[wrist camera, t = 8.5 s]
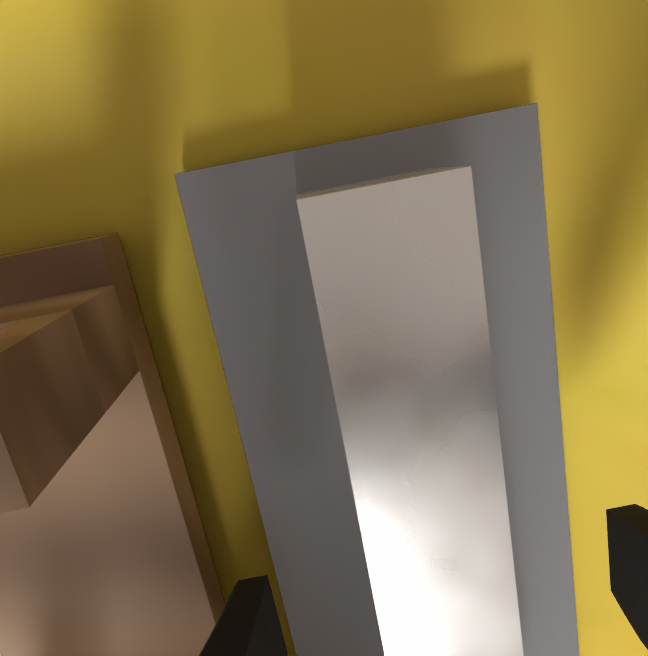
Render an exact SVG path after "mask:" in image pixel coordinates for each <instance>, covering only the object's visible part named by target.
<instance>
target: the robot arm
mask: <svg viewBox="0 0 648 656" xmlns="http://www.w3.org/2000/svg"><path fill="white" fill-rule="evenodd" d="M606 514H607V531H608V549H609V566H610V584H611V591H612V593H613V595H614V597H615V598H616V600H617V602H618V604H619V605H620V607H621V609H622V610H623V612H624V614H625V616H626V617H627V619H628V621H629V622H630V624H631V626H632V627H633V629H634V630H635V632H636V634H637V635H638V637H639V639H640V640H641V641H642V643H643V644H644V645H645V647H646V648H647V649H648V510H647V509H645V508H643V507H641V506H638V505H636V504H632V505H627V506H622V507H617V508H612V509H606ZM199 656H287V649H286V646H285V642H284V638H283V634H282V630H281V626H280V622H279V618H278V615H277V611H276V607H275V603H274V599H273V595H272V591H271V587H270V584H269V580H268V576H267V575H264V576H259V577H254V578H249V579H244V580H239V581H238V582H237V584H236V585H235V587H234V589H233V591H232V593H231V595H230V597H229V599H228V601H227V603H226V605H225V607H224V609H223V611H222V613H221V615H220V617H219V619H218V621H217V623H216V625H215V627H214V629H213V631H212V632H211V634H210V636H209V638H208V640H207V642H206V643H205V645H204V647H203V649H202V651H201V652H200V654H199Z"/></svg>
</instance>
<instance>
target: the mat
mask: <svg viewBox="0 0 648 656" xmlns="http://www.w3.org/2000/svg"><path fill="white" fill-rule="evenodd" d="M464 166H471V170H472V179H473V188H474V198H475V207H476V216H477V226H478V235H479V244H480V254H481V263H482V272H483V282H484V291H485V300H486V310H487V319H488V328H489V338H490V347H491V356H492V366H493V375H494V384H495V394H496V403H497V412H498V422H499V431H500V440H501V449H502V459H503V468H504V477H505V487H506V496H507V505H508V515H509V524H510V533H511V543H512V552H513V561H514V571H515V580H516V589H517V599H518V608H519V617H520V627H521V636H522V645H523V655H524V656H579V646H578V632H577V619H576V606H575V593H574V580H573V567H572V554H571V541H570V527H569V514H568V501H567V488H566V475H565V462H564V449H563V435H562V422H561V409H560V396H559V383H558V370H557V357H556V344H555V330H554V317H553V304H552V291H551V278H550V265H549V252H548V239H547V225H546V212H545V199H544V186H543V173H542V160H541V147H540V133H539V120H538V107H537V103H534V104H529V105H524V106H519V107H514V108H509V109H504V110H499V111H493V112H488V113H483V114H478V115H473V116H468V117H463V118H458V119H453V120H448V121H443V122H437V123H432V124H427V125H422V126H417V127H412V128H407V129H402V130H397V131H392V132H387V133H382V134H376V135H371V136H366V137H361V138H356V139H351V140H346V141H341V142H336V143H331V144H326V145H320V146H315V147H310V148H305V149H300V150H295V151H290V152H285V153H280V154H275V155H270V156H264V157H259V158H254V159H249V160H244V161H239V162H234V163H229V164H224V165H219V166H214V167H208V168H203V169H198V170H193V171H188V172H183V173H178V174H174V175H175V179H176V183H177V187H178V191H179V195H180V199H181V203H182V207H183V211H184V215H185V219H186V223H187V227H188V230H189V234H190V238H191V242H192V246H193V250H194V254H195V258H196V262H197V266H198V270H199V274H200V278H201V282H202V286H203V290H204V293H205V297H206V301H207V305H208V309H209V313H210V317H211V321H212V325H213V329H214V333H215V337H216V341H217V345H218V349H219V353H220V356H221V360H222V364H223V368H224V372H225V376H226V380H227V384H228V388H229V392H230V396H231V400H232V404H233V408H234V412H235V416H236V419H237V423H238V427H239V431H240V435H241V439H242V443H243V447H244V451H245V455H246V459H247V463H248V467H249V471H250V475H251V479H252V482H253V486H254V490H255V494H256V498H257V502H258V506H259V510H260V514H261V518H262V522H263V526H264V530H265V534H266V538H267V542H268V545H269V549H270V553H271V557H272V561H273V565H274V569H275V573H276V577H277V581H278V585H279V589H280V593H281V597H282V601H283V605H284V609H285V612H286V616H287V620H288V624H289V628H290V632H291V636H292V640H293V644H294V648H295V652H296V656H385V653H384V648H383V643H382V638H381V633H380V628H379V622H378V617H377V612H376V607H375V602H374V597H373V592H372V586H371V581H370V576H369V571H368V566H367V561H366V556H365V550H364V545H363V540H362V535H361V530H360V525H359V520H358V514H357V509H356V504H355V499H354V494H353V489H352V484H351V478H350V473H349V468H348V463H347V458H346V453H345V448H344V442H343V437H342V432H341V427H340V422H339V417H338V412H337V406H336V401H335V396H334V391H333V386H332V381H331V376H330V370H329V365H328V360H327V355H326V350H325V345H324V340H323V334H322V329H321V324H320V319H319V314H318V309H317V304H316V298H315V293H314V288H313V283H312V278H311V273H310V268H309V262H308V257H307V252H306V247H305V242H304V237H303V231H302V226H301V221H300V216H299V211H298V206H297V201H296V197H297V194H298V193H303V192H308V191H313V190H318V189H324V188H329V187H334V186H339V185H344V184H349V183H355V182H360V181H365V180H370V179H375V178H381V177H386V176H391V175H396V174H401V173H407V172H412V171H417V170H422V169H427V168H441V167H464Z"/></svg>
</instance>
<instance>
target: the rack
mask: <svg viewBox="0 0 648 656" xmlns="http://www.w3.org/2000/svg"><path fill="white" fill-rule="evenodd" d="M224 607H225V601H224V598H223V594H222V591H221V587H220V584H219V580H218V577H217V573H216V570H215V567H214V563H213V560H212V556H211V553H210V549H209V546H208V542H207V539H206V535H205V532H204V529H203V525H202V522H201V518H200V515H199V511H198V508H197V504H196V501H195V497H194V494H193V491H192V487H191V484H190V480H189V477H188V473H187V470H186V466H185V463H184V459H183V456H182V452H181V449H180V446H179V442H178V439H177V435H176V432H175V428H174V425H173V421H172V418H171V414H170V411H169V408H168V404H167V401H166V397H165V394H164V390H163V387H162V383H161V380H160V376H159V373H158V370H157V366H156V363H155V359H154V356H153V352H152V349H151V345H150V342H149V338H148V335H147V331H146V328H145V325H144V321H143V318H142V314H141V311H140V307H139V304H138V300H137V297H136V293H135V290H134V287H133V283H132V280H131V276H130V273H129V269H128V266H127V262H126V259H125V255H124V252H123V249H122V245H121V242H120V238H119V235H118V233H113V234H108V235H103V236H98V237H93V238H88V239H83V240H78V241H72V242H67V243H62V244H57V245H52V246H47V247H42V248H37V249H32V250H27V251H21V252H16V253H11V254H6V255H1V256H0V655H1V656H199V654H200V652H201V651H202V649H203V647H204V645H205V643H206V642H207V640H208V638H209V636H210V634H211V632H212V631H213V629H214V627H215V625H216V623H217V621H218V619H219V617H220V615H221V613H222V611H223V609H224Z"/></svg>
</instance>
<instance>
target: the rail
mask: <svg viewBox="0 0 648 656" xmlns="http://www.w3.org/2000/svg"><path fill="white" fill-rule="evenodd" d="M296 201H297V206H298V211H299V216H300V221H301V226H302V231H303V237H304V242H305V247H306V252H307V257H308V262H309V268H310V273H311V278H312V283H313V288H314V293H315V298H316V304H317V309H318V314H319V319H320V324H321V329H322V334H323V340H324V345H325V350H326V355H327V360H328V365H329V370H330V376H331V381H332V386H333V391H334V396H335V401H336V406H337V412H338V417H339V422H340V427H341V432H342V437H343V442H344V448H345V453H346V458H347V463H348V468H349V473H350V478H351V484H352V489H353V494H354V499H355V504H356V509H357V514H358V520H359V525H360V530H361V535H362V540H363V545H364V550H365V556H366V561H367V566H368V571H369V576H370V581H371V586H372V592H373V597H374V602H375V607H376V612H377V617H378V622H379V628H380V633H381V638H382V643H383V648H384V653H385V656H524V655H523V645H522V636H521V627H520V617H519V608H518V599H517V589H516V580H515V571H514V561H513V552H512V543H511V533H510V524H509V515H508V505H507V496H506V487H505V477H504V468H503V459H502V449H501V440H500V431H499V422H498V412H497V403H496V394H495V384H494V375H493V366H492V356H491V347H490V338H489V328H488V319H487V310H486V300H485V291H484V282H483V272H482V263H481V254H480V244H479V235H478V226H477V216H476V207H475V198H474V188H473V179H472V170H471V166H464V167H441V168H427V169H422V170H417V171H412V172H407V173H401V174H396V175H391V176H386V177H381V178H375V179H370V180H365V181H360V182H355V183H349V184H344V185H339V186H334V187H329V188H324V189H318V190H313V191H308V192H303V193H298V194H297V197H296Z"/></svg>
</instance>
